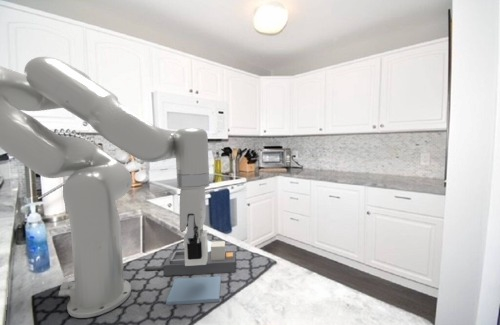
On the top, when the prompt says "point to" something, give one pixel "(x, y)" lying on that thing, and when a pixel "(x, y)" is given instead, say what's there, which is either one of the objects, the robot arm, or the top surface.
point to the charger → (204, 250)
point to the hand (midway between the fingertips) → (196, 253)
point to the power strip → (215, 264)
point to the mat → (195, 290)
